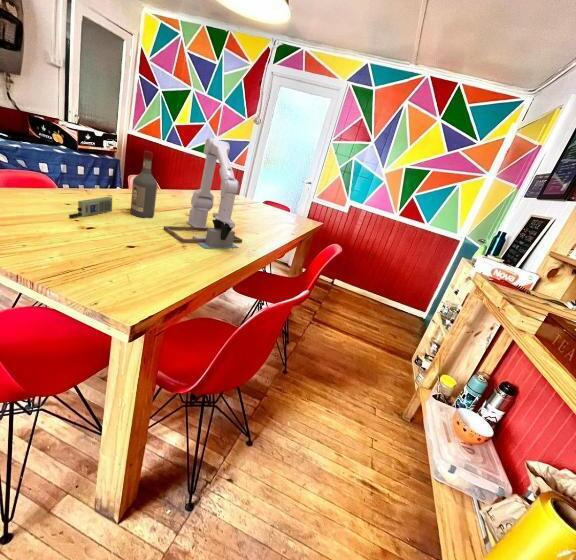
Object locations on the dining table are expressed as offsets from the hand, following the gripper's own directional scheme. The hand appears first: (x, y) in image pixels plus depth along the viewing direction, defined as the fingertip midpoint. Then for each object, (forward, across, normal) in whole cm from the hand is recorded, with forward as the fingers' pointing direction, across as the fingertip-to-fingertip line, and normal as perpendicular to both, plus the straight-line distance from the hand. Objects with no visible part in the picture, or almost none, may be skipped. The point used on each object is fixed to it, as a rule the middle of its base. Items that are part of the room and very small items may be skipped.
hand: (220, 237), depth 143 cm
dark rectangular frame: (+4, -12, 0) cm, 13 cm away
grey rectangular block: (+3, 0, 0) cm, 3 cm away
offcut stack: (+4, -8, 0) cm, 9 cm away
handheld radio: (+4, -39, -40) cm, 56 cm away
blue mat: (+4, 0, 0) cm, 4 cm away
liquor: (+4, -42, -17) cm, 45 cm away
